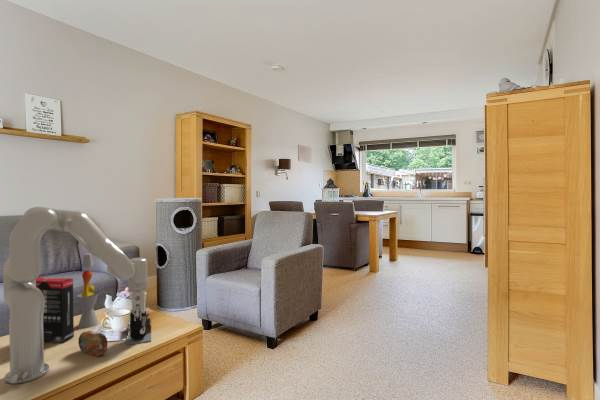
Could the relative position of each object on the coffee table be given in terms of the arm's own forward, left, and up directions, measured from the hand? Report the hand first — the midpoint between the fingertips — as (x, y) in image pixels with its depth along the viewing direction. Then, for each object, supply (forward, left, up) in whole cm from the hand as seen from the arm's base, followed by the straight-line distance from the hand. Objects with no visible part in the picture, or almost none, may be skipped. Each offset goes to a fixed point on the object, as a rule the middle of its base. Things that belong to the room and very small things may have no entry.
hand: (138, 326), depth 152 cm
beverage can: (0, 0, -5) cm, 5 cm away
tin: (-7, +16, -6) cm, 19 cm away
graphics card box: (+15, +35, -6) cm, 39 cm away
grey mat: (0, 0, -6) cm, 6 cm away
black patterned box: (+10, 0, -6) cm, 12 cm away
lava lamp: (+29, +23, -6) cm, 38 cm away
